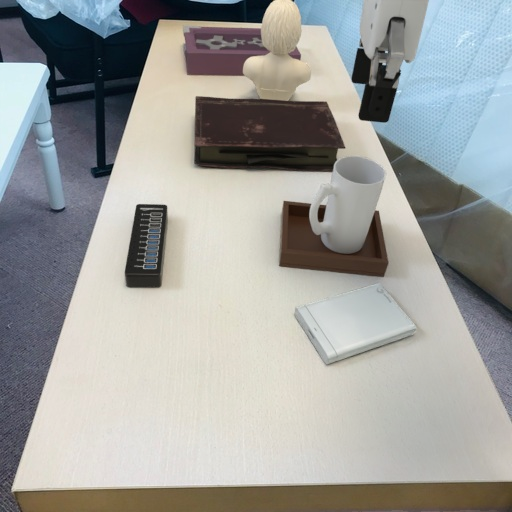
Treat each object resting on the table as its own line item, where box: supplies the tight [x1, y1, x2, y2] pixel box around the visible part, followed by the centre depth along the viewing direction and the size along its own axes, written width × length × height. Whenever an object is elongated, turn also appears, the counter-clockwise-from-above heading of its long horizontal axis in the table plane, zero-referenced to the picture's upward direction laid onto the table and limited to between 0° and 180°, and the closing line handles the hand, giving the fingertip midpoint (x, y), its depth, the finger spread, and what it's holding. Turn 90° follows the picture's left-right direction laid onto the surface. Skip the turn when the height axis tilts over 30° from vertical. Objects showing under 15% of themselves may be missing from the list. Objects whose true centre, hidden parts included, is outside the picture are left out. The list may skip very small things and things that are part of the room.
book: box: [182, 25, 302, 76], centre depth 118 cm, size 25×16×5 cm, turn 99°
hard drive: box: [293, 282, 417, 365], centre depth 62 cm, size 2×8×12 cm
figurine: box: [243, 0, 312, 101], centre depth 99 cm, size 14×9×20 cm
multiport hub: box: [124, 203, 169, 288], centre depth 69 cm, size 4×14×2 cm, turn 4°
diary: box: [194, 95, 346, 172], centre depth 91 cm, size 19×25×5 cm
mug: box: [309, 155, 387, 254], centre depth 69 cm, size 10×7×12 cm, turn 116°
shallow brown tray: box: [278, 200, 389, 278], centre depth 73 cm, size 12×14×3 cm
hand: (368, 100), depth 58 cm, fingers open, 9 cm apart
